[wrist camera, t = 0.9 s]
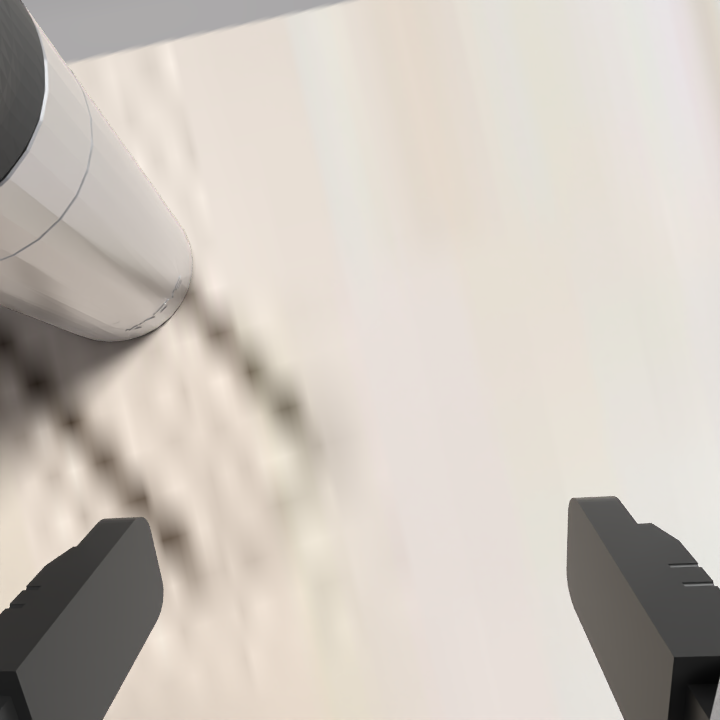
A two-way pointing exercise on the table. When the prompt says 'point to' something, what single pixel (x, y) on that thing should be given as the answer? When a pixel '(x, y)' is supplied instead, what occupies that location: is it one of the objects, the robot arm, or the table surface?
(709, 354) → the table surface
